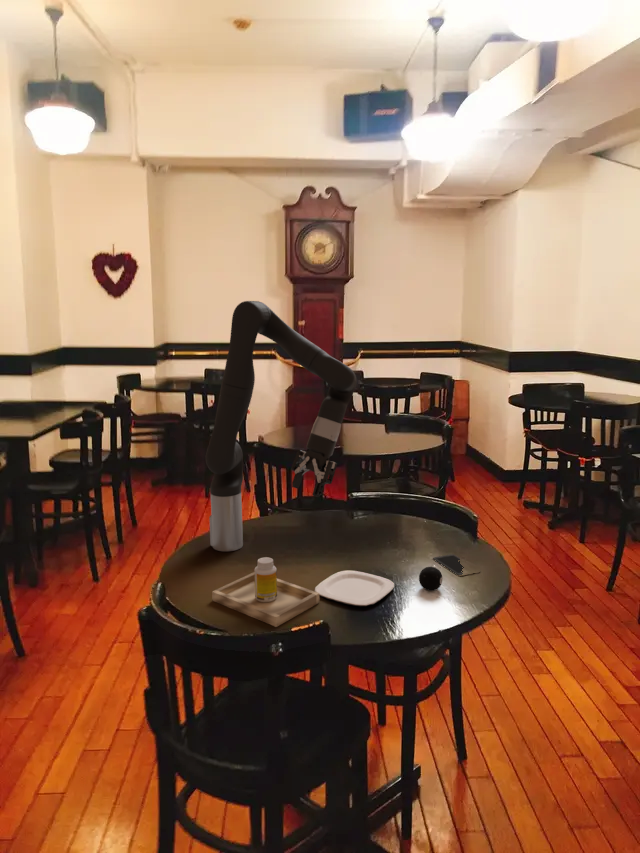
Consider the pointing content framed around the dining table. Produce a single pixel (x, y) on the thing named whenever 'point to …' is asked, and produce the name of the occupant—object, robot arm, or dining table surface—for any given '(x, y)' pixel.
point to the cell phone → (450, 563)
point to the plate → (355, 588)
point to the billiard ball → (430, 578)
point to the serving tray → (274, 612)
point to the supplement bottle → (265, 580)
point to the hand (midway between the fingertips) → (305, 492)
